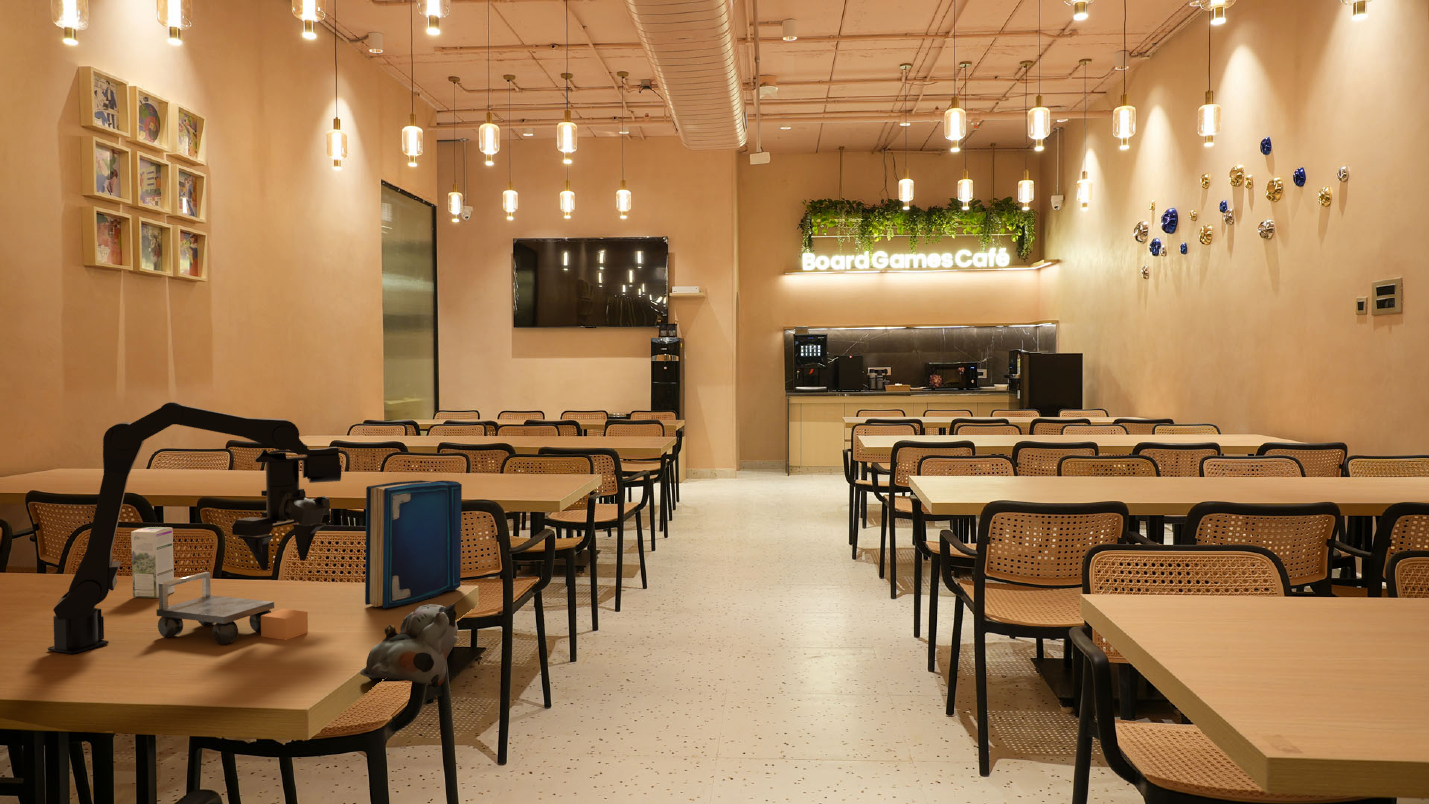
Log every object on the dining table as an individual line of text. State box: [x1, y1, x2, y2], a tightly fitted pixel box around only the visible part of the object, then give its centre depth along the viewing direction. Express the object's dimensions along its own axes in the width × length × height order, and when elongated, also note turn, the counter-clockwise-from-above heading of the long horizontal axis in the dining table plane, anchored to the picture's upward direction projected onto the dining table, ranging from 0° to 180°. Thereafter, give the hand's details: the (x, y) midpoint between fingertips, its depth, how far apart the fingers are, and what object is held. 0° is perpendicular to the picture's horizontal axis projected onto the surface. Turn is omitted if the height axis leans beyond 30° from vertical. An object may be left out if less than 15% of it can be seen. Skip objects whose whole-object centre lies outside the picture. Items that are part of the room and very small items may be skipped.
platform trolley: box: [156, 571, 275, 646], centre depth 163 cm, size 11×17×10 cm, turn 71°
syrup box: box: [130, 526, 175, 599], centre depth 193 cm, size 6×6×14 cm
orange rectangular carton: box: [260, 608, 309, 641], centre depth 163 cm, size 5×6×4 cm
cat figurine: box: [360, 603, 459, 688], centre depth 139 cm, size 15×12×14 cm
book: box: [364, 480, 463, 609], centre depth 189 cm, size 22×7×25 cm, turn 149°
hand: (284, 565), depth 171 cm, fingers open, 9 cm apart
